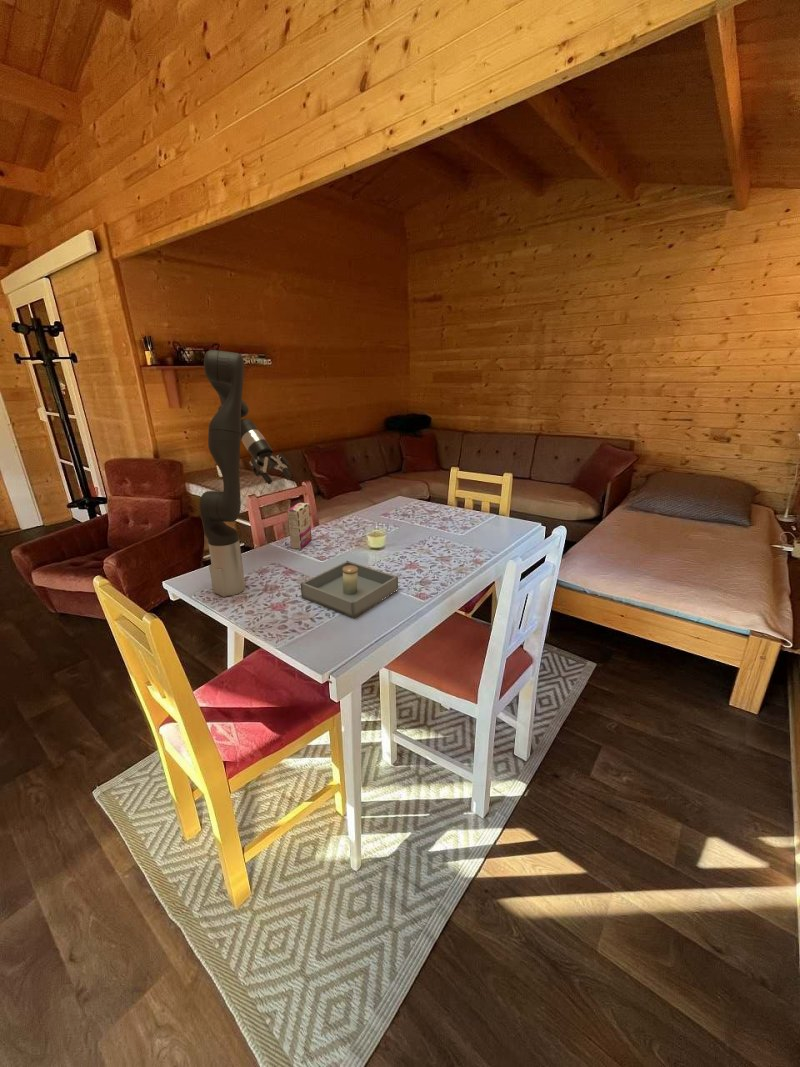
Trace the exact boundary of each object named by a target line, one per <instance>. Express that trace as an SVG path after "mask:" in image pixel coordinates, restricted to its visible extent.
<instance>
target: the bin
mask: <svg viewBox="0 0 800 1067" xmlns="http://www.w3.org/2000/svg"><path fill="white" fill-rule="evenodd" d="M348 565H353V566H356V567H357V568H358V572H357V592H356V593H355V594H345V593H344V592H343V567H344V566H348ZM397 589H398V590H399V577H398V575H397V576H396V575H394V574H390V573H388V572H384V571H381V570H378V569H375V568H372V567H367V566H366V565H362V564H360V563H356V562H353V561H349V560H346V561H345V562H342V563H340V564H338V565H336V566H333V567H331V568H330V569H327V570H326V571H323V572H321V573H319V574H317V575H315V576H313V577H311V578H309V579H306V580H305V581H303V582H301V583H300V593H301V598H302V599H305V600H307V601H309V602H312V603H315V604H317V605H319V606H321V607H324V608H326V609H329V610H331V611H334V612H336V613H339V614H341V615H343V616H344V615H345V616H346V617H349V618H351V619H355V618H357V617H359V616H360V615H362V614H364V613H365V612H366V610H367V611H368V610H370V609H371V608H373V607H374V606H376V605H377V604H376V603H378V602H379V601H381V600H382V599H384V598H385V597H387V596H388V595H390V594H391V593H393V592H394V591H396V590H397ZM396 592H397V591H396ZM393 594H394V593H393ZM390 596H391V595H390ZM387 598H388V597H387ZM385 599H386V598H385ZM385 599H384V600H385ZM382 601H383V600H382ZM382 601H381V602H382ZM379 603H380V602H379ZM379 603H378V604H379ZM375 604H376V605H375ZM372 606H373V607H372ZM369 608H370V609H369Z"/></svg>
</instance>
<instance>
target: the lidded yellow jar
mask: <svg viewBox="0 0 800 1067" xmlns="http://www.w3.org/2000/svg"><path fill="white" fill-rule="evenodd" d="M357 572H358V568H357V567H356V566H353V565H348V566H344V567H343V592H344V593H345V594H355V593H356V592H357Z"/></svg>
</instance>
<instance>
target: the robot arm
mask: <svg viewBox="0 0 800 1067" xmlns="http://www.w3.org/2000/svg"><path fill="white" fill-rule="evenodd" d="M203 369H204V374H205V377H206V379H207V380H208V382H209V383H210V385H211V386H212V388H213V389H214V391H215V392H216V393H217V395H218V398H219V401H220V404H221V405H219V406H218V408H217V409H218V411H216V413H215V414H214V416H213V417H212V419H211V420H210V422H209V424H208V437H207V445H208V450H209V452H210V455H211V458H213V461H214V462H215V464H216V465H217V468H218V469H219V471H220V473H221V476H222V481H223V482H222V483H223V491H221V490H219V491H218V490H207V491H204V493H202V494H201V496H200V499H199V514H200V518H201V522H202V528H203V532H204V536H205V537H206V539H207V542H208V543H207V544H208V550H209V551H208V552H209V557H210V563H211V564H210V565H208V569H209V574H210V575H209V576H210V582H211V587H212V592H213V593H214V594H216V595H218V596H221V597H222V598H225V597H228V596H235V595H237V594H240V593H242V592H244V591H245V590H246V580H245V573H244V564H243V560H242V551H241V544H240V543H241V542H240V537H239V536H240V535H239V531H238V530H237V529H236V528H233V527H231V526H230V525H228V524H227V523H226V522H229V523H232V522H236V521H238V519H239V517H240V514H241V505H242V503H241V502H242V501H241V484H240V483H241V481H240V479H241V478H240V456H241V454H240V453H241V442H242V444H243V445H244V447H245V449H246V450H247V452H248V453H249V454H250V456H251V459H250V461H248V465H249V467H250V468H251V470H252V472H253V474H254V475H255V476H256V477H259V476H260V477H262V478H263V480H264V481H265V483H266V484H268V485H271V484H272V483H273V479H272V477H271V475H270V474H269V473H268V472H267V470H270V469H276V470H279V471H280V472H281V473H282V475H284V477H285V479H286V480H289V481H290V479H291V478H292V474H291V472H290V471H289V467H290V466H291V464H290V462H289V461H288V460H287V458H286V457H285V456H284V455H283V453H281V452H280V453H279V454H278V455H275V453H274V452H273V449H272V447H271V445H270V444H269V443H268V441H267V440H266V438H265V437H264V435H263V434H262V433H261V432H260V430H259V429H258V428H257V426H256V425H255V423H254V422H253V421H252V420H251V419H250V418H245V417H246V416H248V414H249V411H250V410H249V406H248V404H247V403H246V402H245V401H244V399H243V398H242V397H243V387H244V377H245V362H244V357H243V355H242V354H240V353H238V352H233V351H226V350H225V351H224V350H217V349H216V350H215V349H210V350H208V351H206V353H205V355H204V359H203ZM242 418H243V419H242Z"/></svg>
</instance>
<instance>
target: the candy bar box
mask: <svg viewBox="0 0 800 1067" xmlns="http://www.w3.org/2000/svg"><path fill="white" fill-rule="evenodd" d="M310 515H311V514H310V503H308V502H307V503H306V502H297V503H296V504H294V505H293V506H292V507H290V508H288V510H287V522H288V530H289V541H290V548H291V549H294V550H295V549H296V550H302V549H304V548H305V547H306V546H307V545H308V544H309V543H310V542H311V541H312V540H313V537H312V528H311V516H310Z"/></svg>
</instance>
